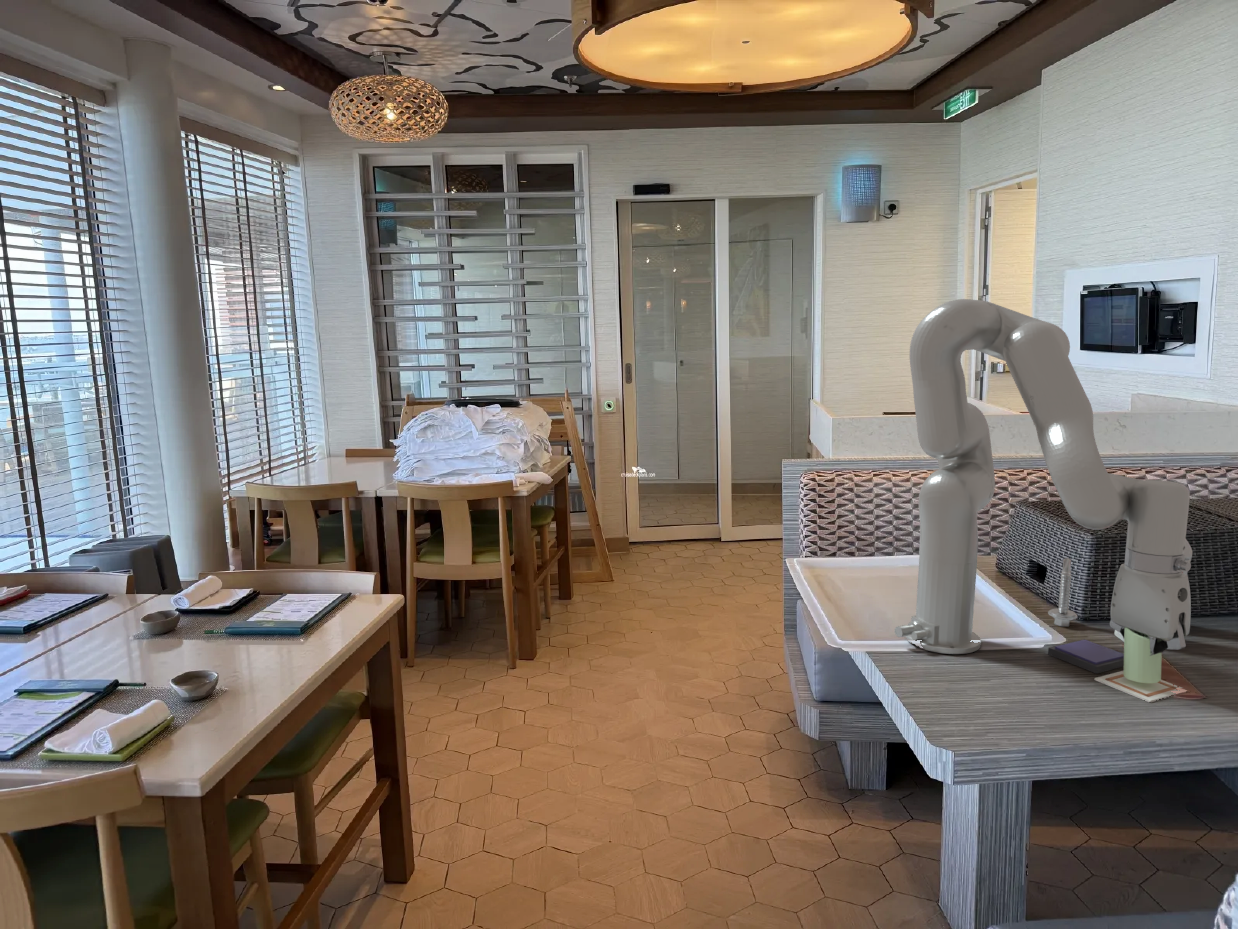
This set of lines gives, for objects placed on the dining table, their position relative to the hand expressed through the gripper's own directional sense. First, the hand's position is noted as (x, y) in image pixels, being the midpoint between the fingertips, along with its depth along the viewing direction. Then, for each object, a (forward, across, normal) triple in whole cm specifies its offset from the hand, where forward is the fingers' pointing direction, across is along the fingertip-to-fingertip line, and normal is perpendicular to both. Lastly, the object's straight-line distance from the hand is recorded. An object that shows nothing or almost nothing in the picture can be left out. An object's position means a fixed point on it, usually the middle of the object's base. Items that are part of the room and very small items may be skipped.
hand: (1142, 674), depth 132 cm
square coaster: (+2, 0, 0) cm, 2 cm away
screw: (+2, +24, -13) cm, 27 cm away
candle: (+1, 0, 0) cm, 1 cm away
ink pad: (+2, +11, -2) cm, 11 cm away
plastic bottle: (+2, +15, -29) cm, 33 cm away
